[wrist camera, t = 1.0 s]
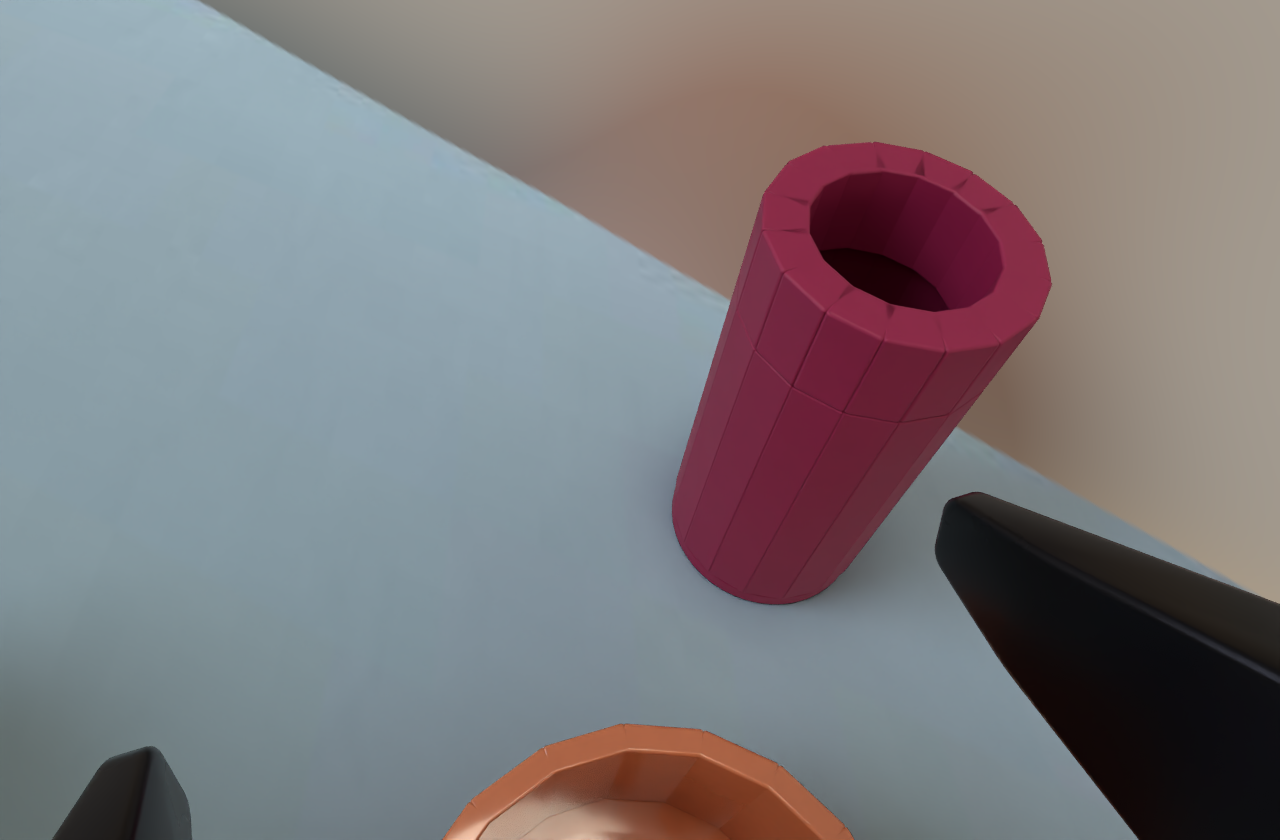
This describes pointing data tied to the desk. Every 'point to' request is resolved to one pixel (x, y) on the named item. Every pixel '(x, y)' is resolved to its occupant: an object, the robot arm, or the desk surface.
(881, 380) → the crimson hollow cylinder
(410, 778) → the desk surface
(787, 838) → the pot
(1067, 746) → the robot arm
